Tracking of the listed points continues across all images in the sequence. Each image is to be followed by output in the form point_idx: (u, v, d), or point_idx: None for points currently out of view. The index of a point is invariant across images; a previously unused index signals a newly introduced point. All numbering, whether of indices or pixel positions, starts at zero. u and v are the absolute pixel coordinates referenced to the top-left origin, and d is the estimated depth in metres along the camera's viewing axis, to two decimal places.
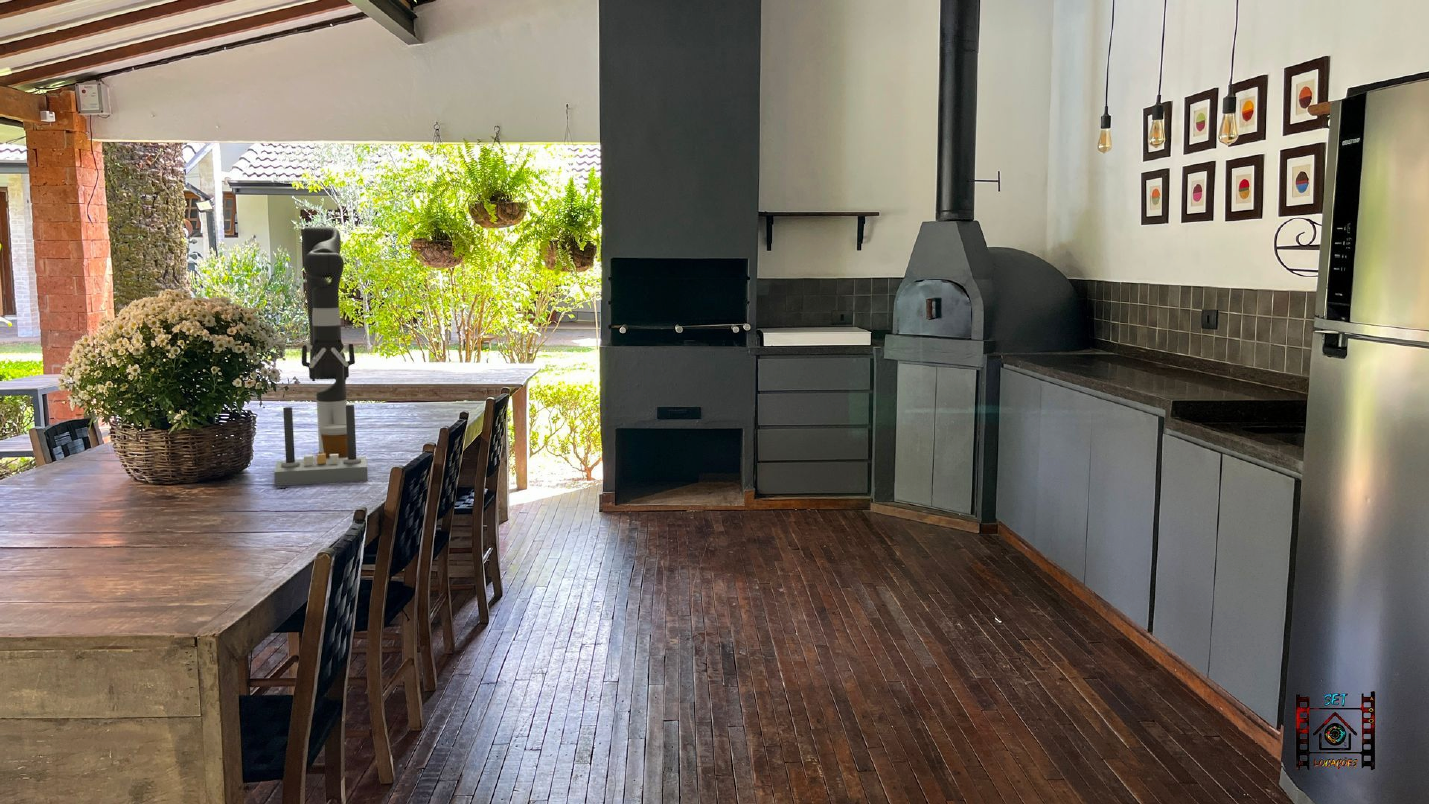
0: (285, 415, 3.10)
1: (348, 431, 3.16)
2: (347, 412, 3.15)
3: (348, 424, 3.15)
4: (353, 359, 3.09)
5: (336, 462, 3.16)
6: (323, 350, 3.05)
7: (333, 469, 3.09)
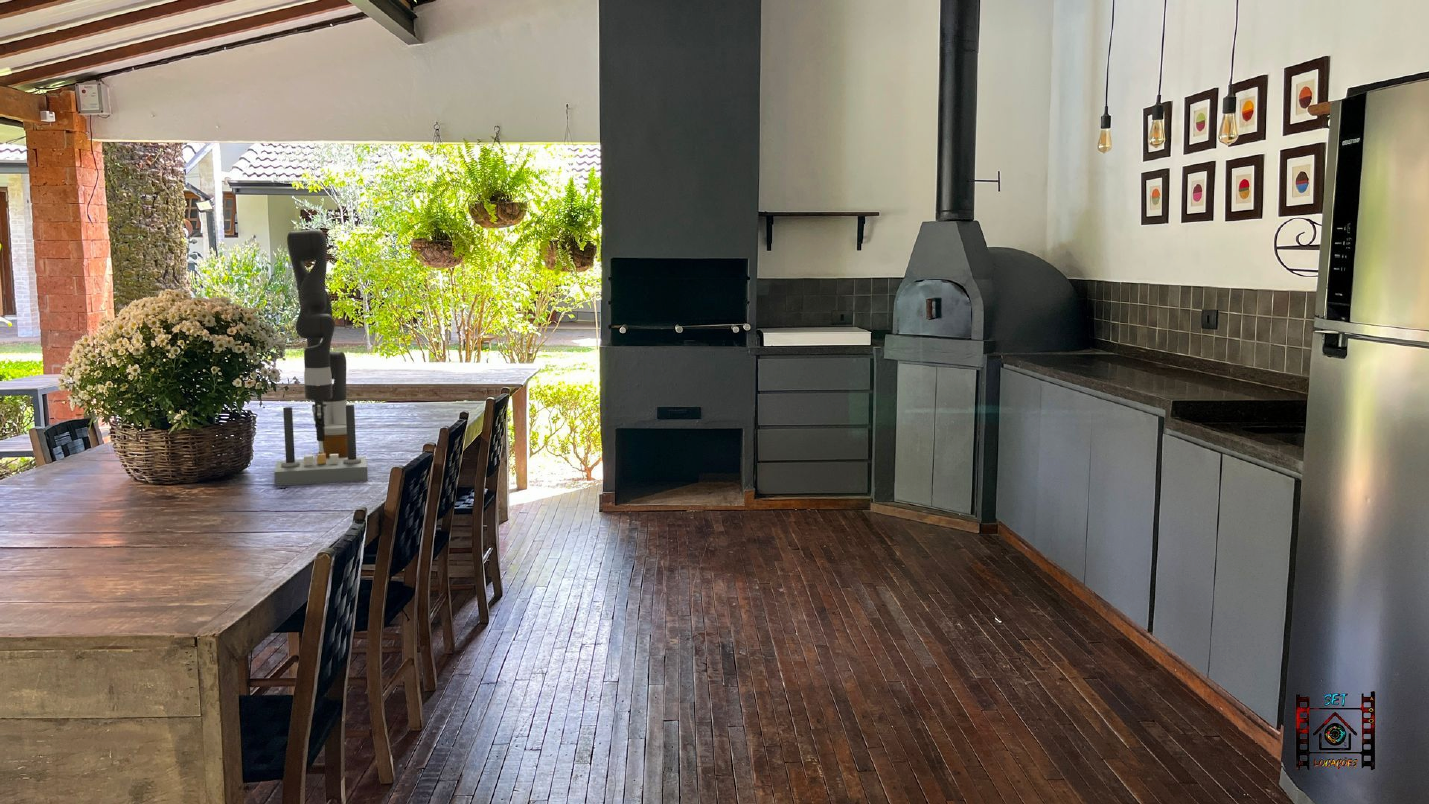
0: (285, 415, 3.10)
1: (348, 431, 3.16)
2: (347, 412, 3.15)
3: (348, 424, 3.15)
4: None
5: (336, 462, 3.16)
6: (326, 407, 3.15)
7: (333, 469, 3.09)
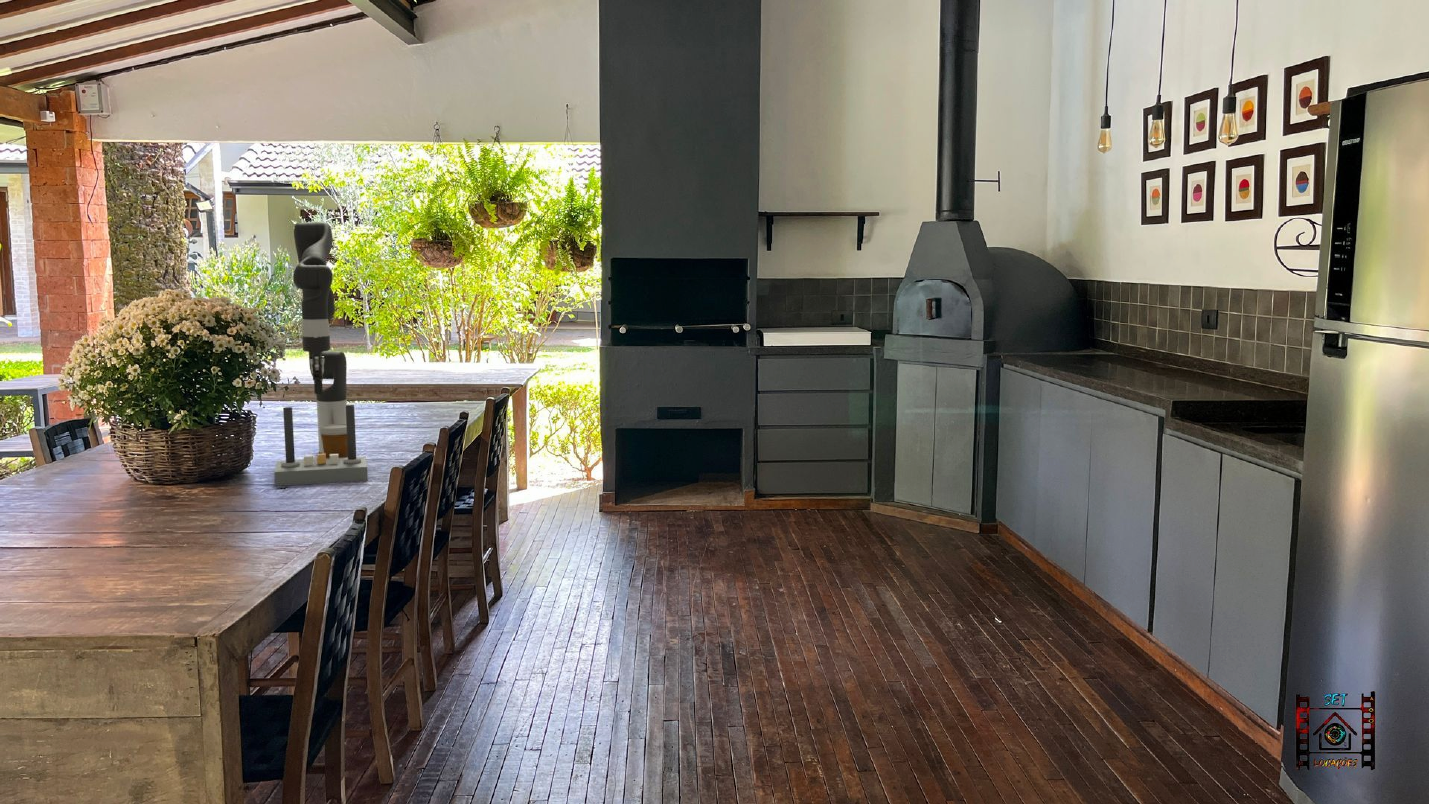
0: (285, 415, 3.10)
1: (348, 431, 3.16)
2: (347, 412, 3.15)
3: (348, 424, 3.15)
4: None
5: (336, 462, 3.16)
6: (324, 360, 3.13)
7: (333, 469, 3.09)
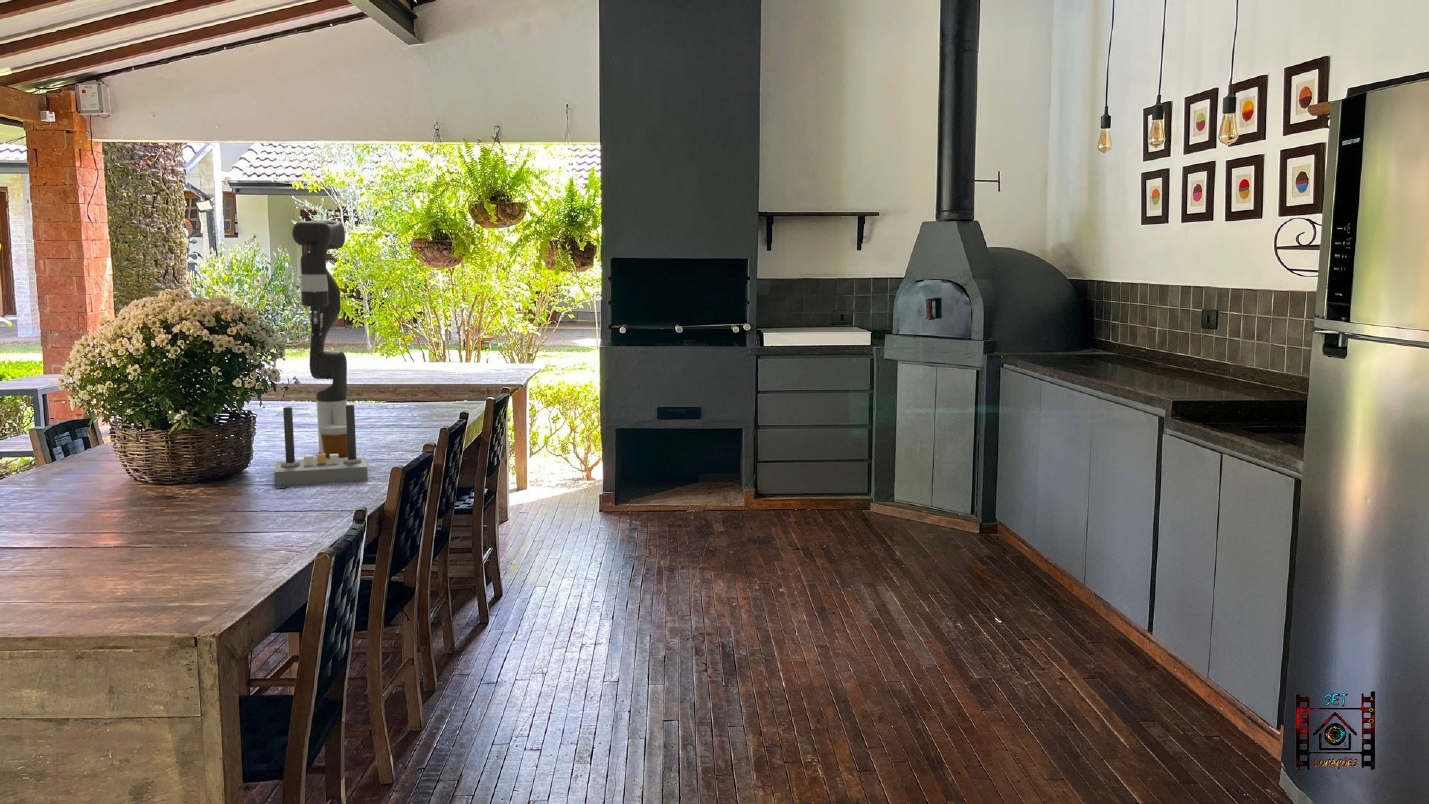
0: (285, 415, 3.10)
1: (348, 431, 3.16)
2: (347, 412, 3.15)
3: (348, 424, 3.15)
4: None
5: (336, 462, 3.16)
6: (322, 314, 3.20)
7: (333, 469, 3.09)
